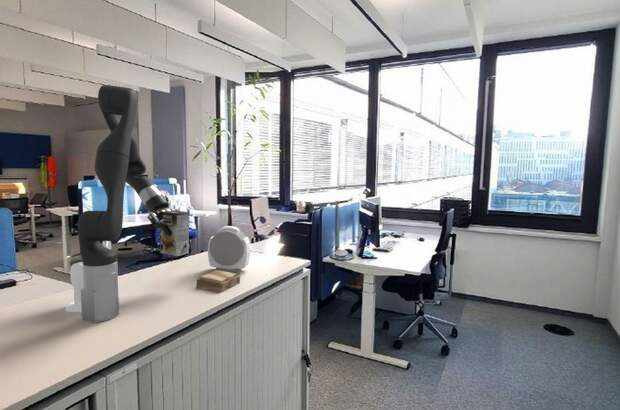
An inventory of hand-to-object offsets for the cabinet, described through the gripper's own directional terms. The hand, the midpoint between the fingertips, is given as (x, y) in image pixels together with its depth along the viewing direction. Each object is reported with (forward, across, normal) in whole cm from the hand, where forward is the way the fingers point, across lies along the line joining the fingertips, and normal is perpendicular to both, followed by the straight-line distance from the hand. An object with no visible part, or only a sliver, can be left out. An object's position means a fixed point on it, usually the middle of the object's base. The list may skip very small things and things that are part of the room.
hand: (177, 233), depth 135 cm
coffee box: (+5, 0, +7) cm, 8 cm away
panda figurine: (+5, -26, +27) cm, 37 cm away
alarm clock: (+17, +29, +14) cm, 37 cm away
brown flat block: (+23, +11, +8) cm, 27 cm away
